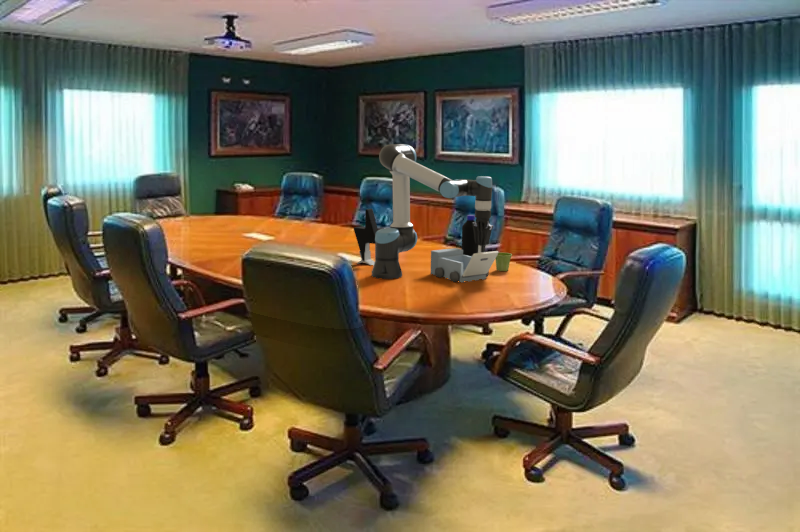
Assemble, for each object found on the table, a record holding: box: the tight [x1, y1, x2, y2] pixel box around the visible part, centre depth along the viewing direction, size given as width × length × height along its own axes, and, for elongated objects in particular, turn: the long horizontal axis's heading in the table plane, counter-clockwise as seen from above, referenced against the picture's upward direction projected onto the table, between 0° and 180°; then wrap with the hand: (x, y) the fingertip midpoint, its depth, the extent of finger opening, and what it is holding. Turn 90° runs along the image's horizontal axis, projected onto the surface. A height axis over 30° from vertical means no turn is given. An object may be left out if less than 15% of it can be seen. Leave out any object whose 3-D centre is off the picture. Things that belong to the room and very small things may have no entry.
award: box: [353, 208, 379, 266], centre depth 381 cm, size 15×5×30 cm, turn 58°
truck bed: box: [430, 247, 490, 283], centre depth 352 cm, size 21×24×12 cm
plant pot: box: [495, 252, 513, 272], centre depth 369 cm, size 9×9×9 cm
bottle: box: [461, 214, 478, 257], centre depth 374 cm, size 9×9×28 cm
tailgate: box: [462, 250, 500, 278], centre depth 338 cm, size 15×1×15 cm
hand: (481, 258), depth 337 cm, fingers closed
